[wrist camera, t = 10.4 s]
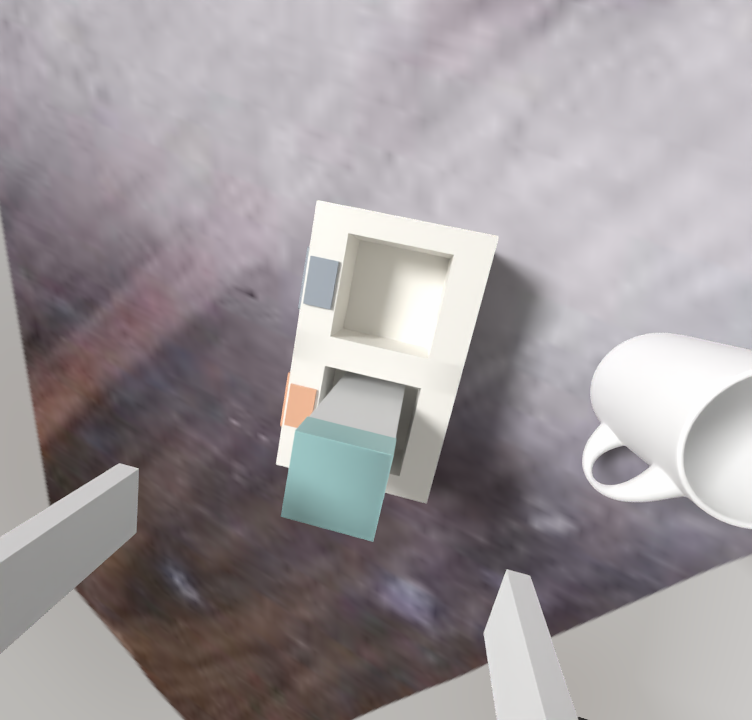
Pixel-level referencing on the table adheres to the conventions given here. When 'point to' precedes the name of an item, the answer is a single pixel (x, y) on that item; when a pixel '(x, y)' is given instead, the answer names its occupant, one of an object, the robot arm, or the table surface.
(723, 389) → the mug
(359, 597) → the table surface
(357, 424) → the plug
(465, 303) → the socket box
